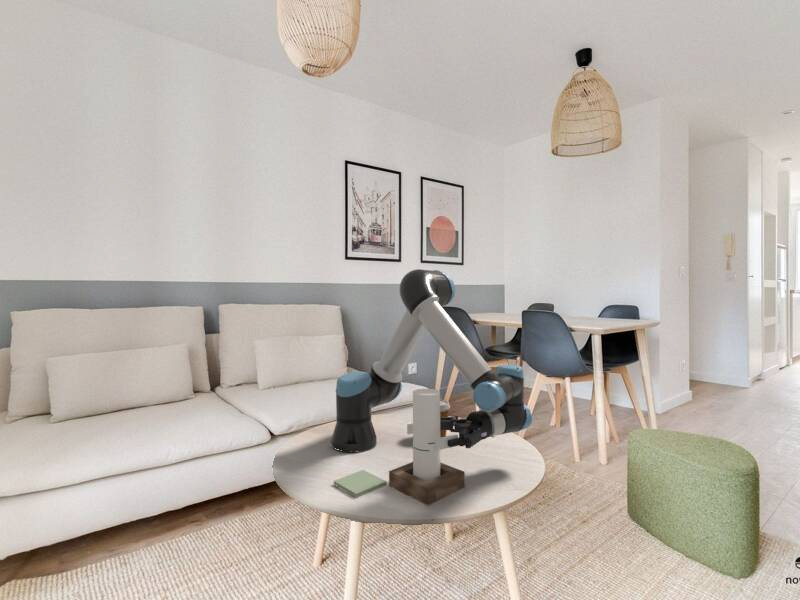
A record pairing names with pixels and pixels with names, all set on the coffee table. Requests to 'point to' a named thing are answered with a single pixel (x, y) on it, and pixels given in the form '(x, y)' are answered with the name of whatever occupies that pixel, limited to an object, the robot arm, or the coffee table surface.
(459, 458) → the coffee table surface
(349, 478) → the green mat
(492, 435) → the robot arm
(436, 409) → the cylindrical container
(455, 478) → the frame
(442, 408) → the disposable coffee cup
